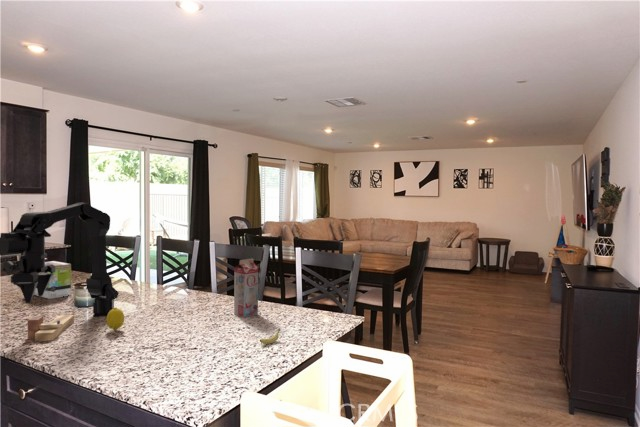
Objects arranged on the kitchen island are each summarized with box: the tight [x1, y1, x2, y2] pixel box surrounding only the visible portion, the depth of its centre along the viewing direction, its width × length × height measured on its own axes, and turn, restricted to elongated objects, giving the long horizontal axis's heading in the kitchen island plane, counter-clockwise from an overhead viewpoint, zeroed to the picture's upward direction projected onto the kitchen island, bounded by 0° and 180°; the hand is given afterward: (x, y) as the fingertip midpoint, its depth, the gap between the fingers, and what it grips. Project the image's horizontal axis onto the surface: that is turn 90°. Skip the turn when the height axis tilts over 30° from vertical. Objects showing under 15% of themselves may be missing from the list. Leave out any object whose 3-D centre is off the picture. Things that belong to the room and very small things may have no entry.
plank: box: [34, 314, 75, 342], centre depth 145 cm, size 5×20×2 cm, turn 13°
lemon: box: [106, 307, 125, 331], centre depth 147 cm, size 6×6×8 cm
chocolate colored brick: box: [27, 316, 62, 340], centre depth 140 cm, size 9×4×6 cm, turn 103°
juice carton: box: [233, 258, 259, 318], centre depth 169 cm, size 7×7×22 cm
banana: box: [259, 327, 281, 345], centre depth 138 cm, size 8×2×4 cm, turn 137°
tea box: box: [33, 260, 72, 300], centre depth 194 cm, size 15×10×15 cm, turn 58°
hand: (34, 299), depth 139 cm, fingers open, 9 cm apart
